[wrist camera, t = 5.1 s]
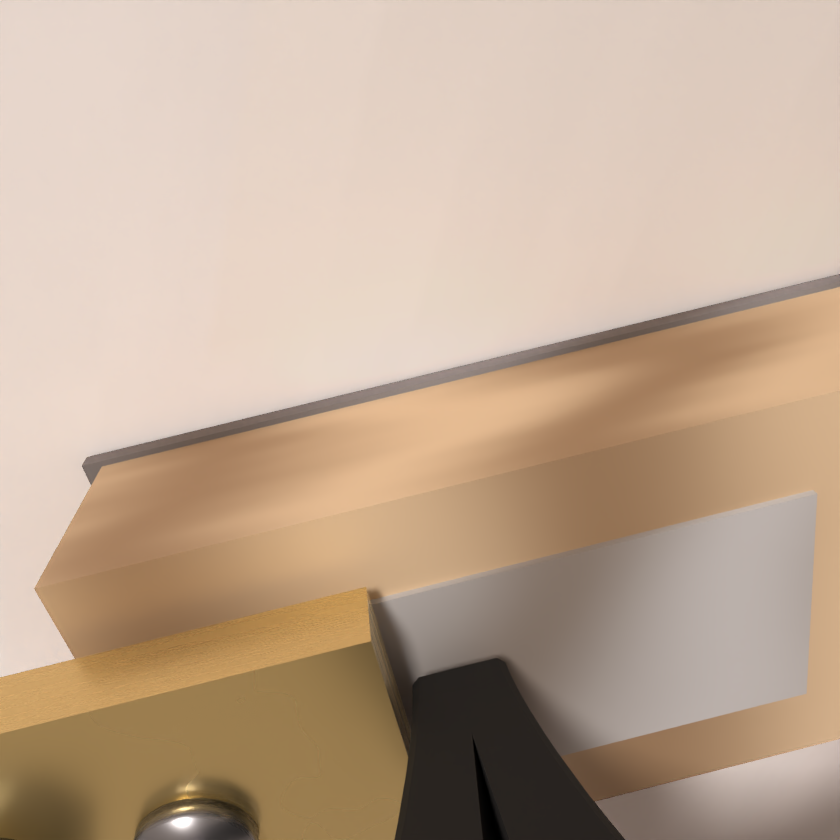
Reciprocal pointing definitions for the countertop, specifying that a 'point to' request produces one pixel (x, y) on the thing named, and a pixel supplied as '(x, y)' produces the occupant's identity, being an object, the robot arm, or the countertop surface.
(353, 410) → the body
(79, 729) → the lever cap
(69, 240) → the countertop surface
